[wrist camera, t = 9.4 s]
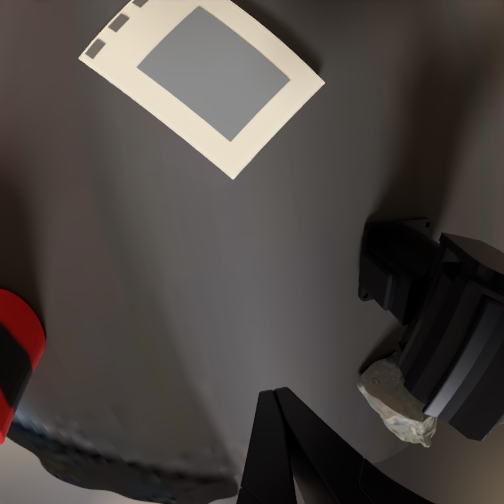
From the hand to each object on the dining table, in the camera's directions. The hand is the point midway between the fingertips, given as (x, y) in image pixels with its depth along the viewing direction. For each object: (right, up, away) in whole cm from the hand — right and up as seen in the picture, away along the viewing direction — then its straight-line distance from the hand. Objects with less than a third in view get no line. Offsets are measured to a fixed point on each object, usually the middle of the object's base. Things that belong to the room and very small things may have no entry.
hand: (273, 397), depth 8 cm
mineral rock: (+15, -11, +22) cm, 29 cm away
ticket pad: (-4, +15, +7) cm, 17 cm away
